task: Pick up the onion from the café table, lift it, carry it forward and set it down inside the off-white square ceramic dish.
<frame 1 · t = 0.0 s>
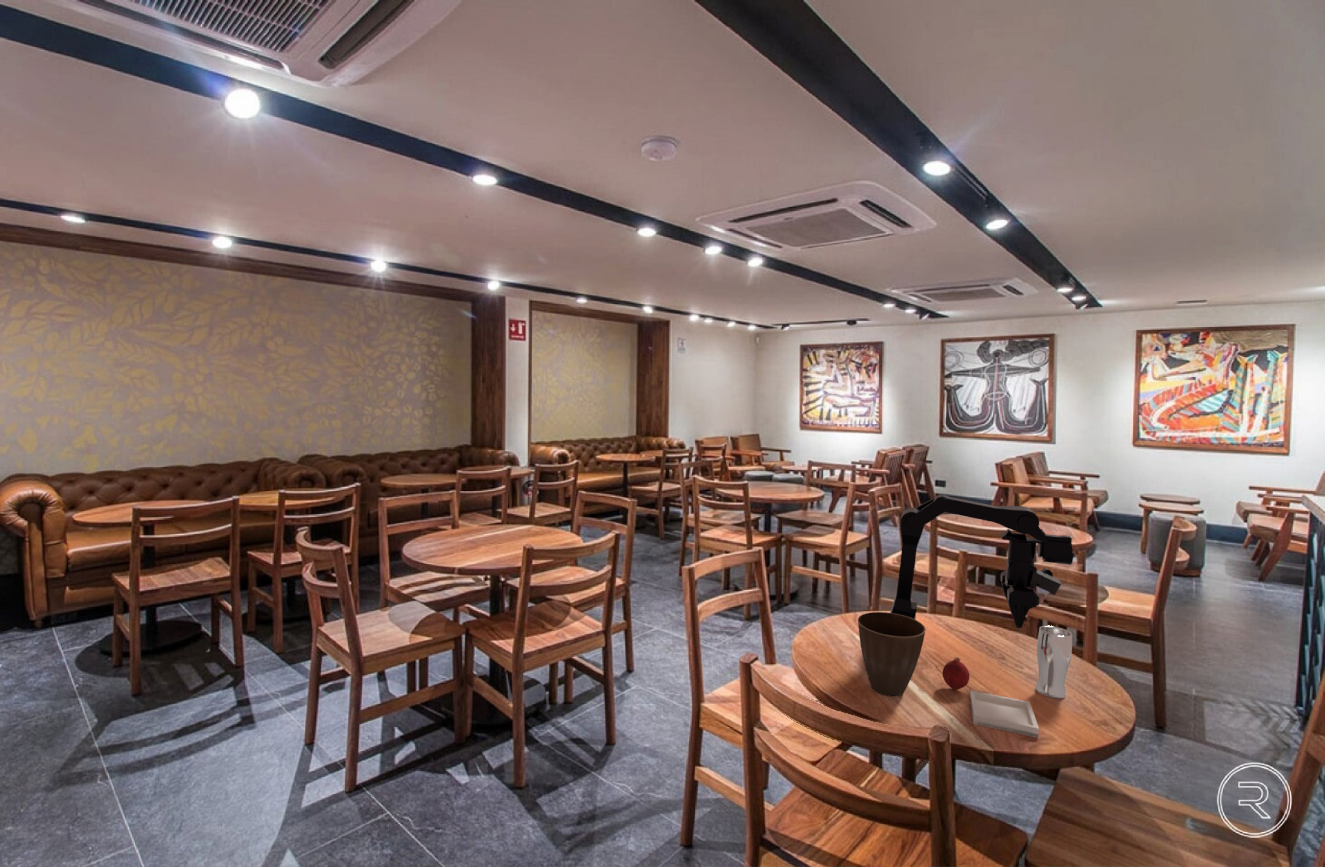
hand: (1016, 620, 154), 15 cm above the table, fingers open, 9 cm apart
dish: (1001, 716, 137), on the table
onion: (954, 690, 149), on the table
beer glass: (1050, 693, 149), on the table
plant pot: (887, 689, 148), on the table
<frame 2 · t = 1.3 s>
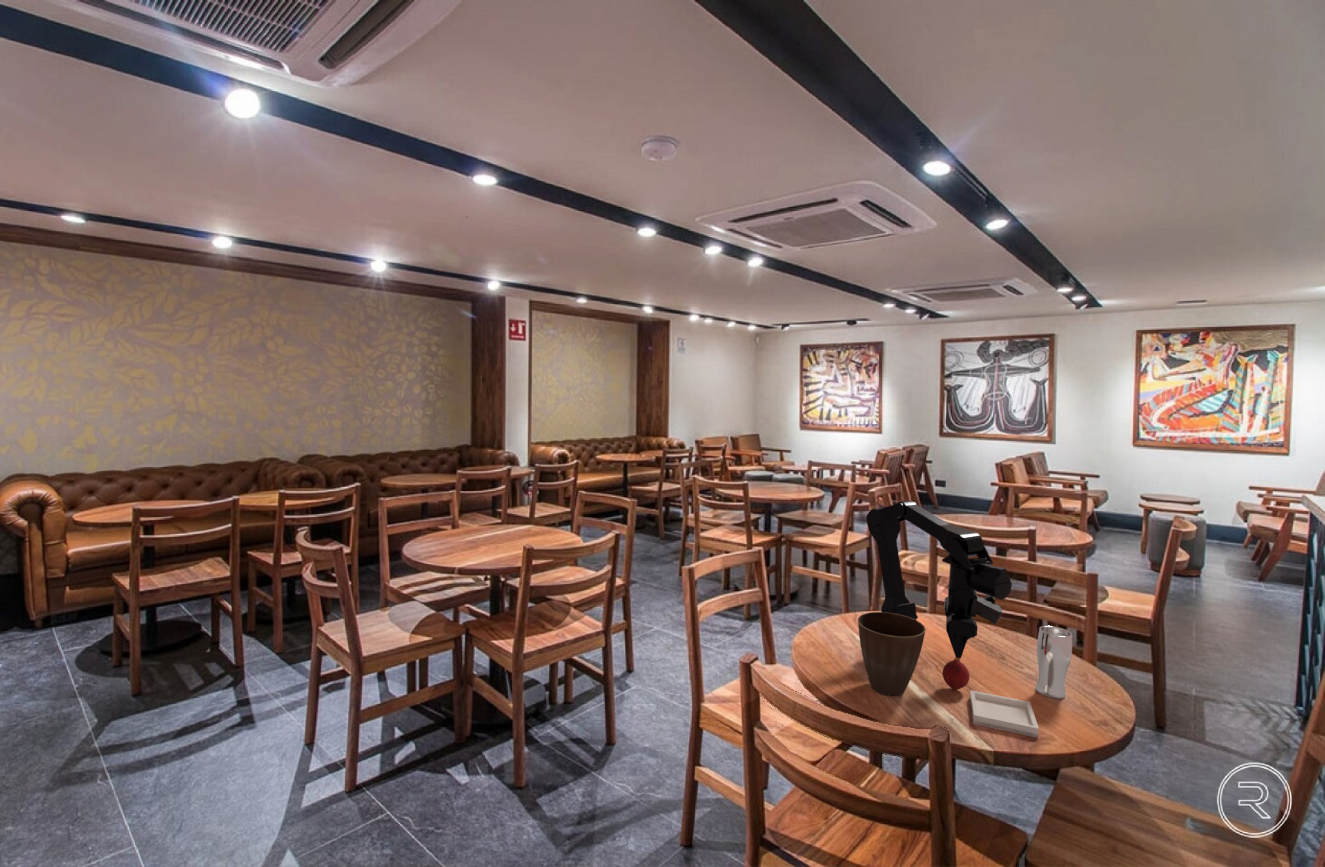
hand: (957, 649, 148), 10 cm above the table, fingers open, 9 cm apart
nothing on the table moved.
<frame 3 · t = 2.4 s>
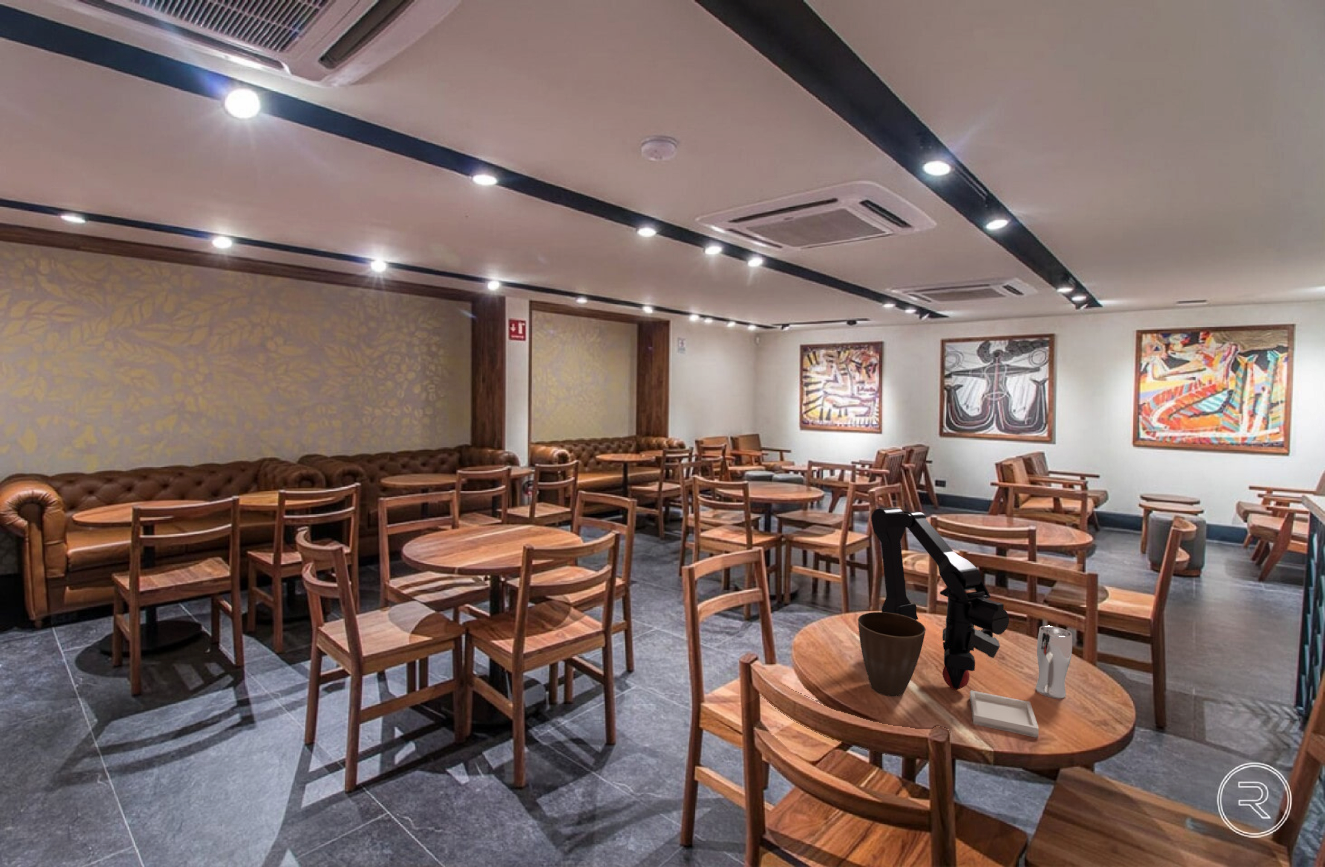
hand: (955, 682, 148), 2 cm above the table, fingers closed on onion, 6 cm apart
onion: (954, 690, 149), on the table, touching gripper
everything else where it was.
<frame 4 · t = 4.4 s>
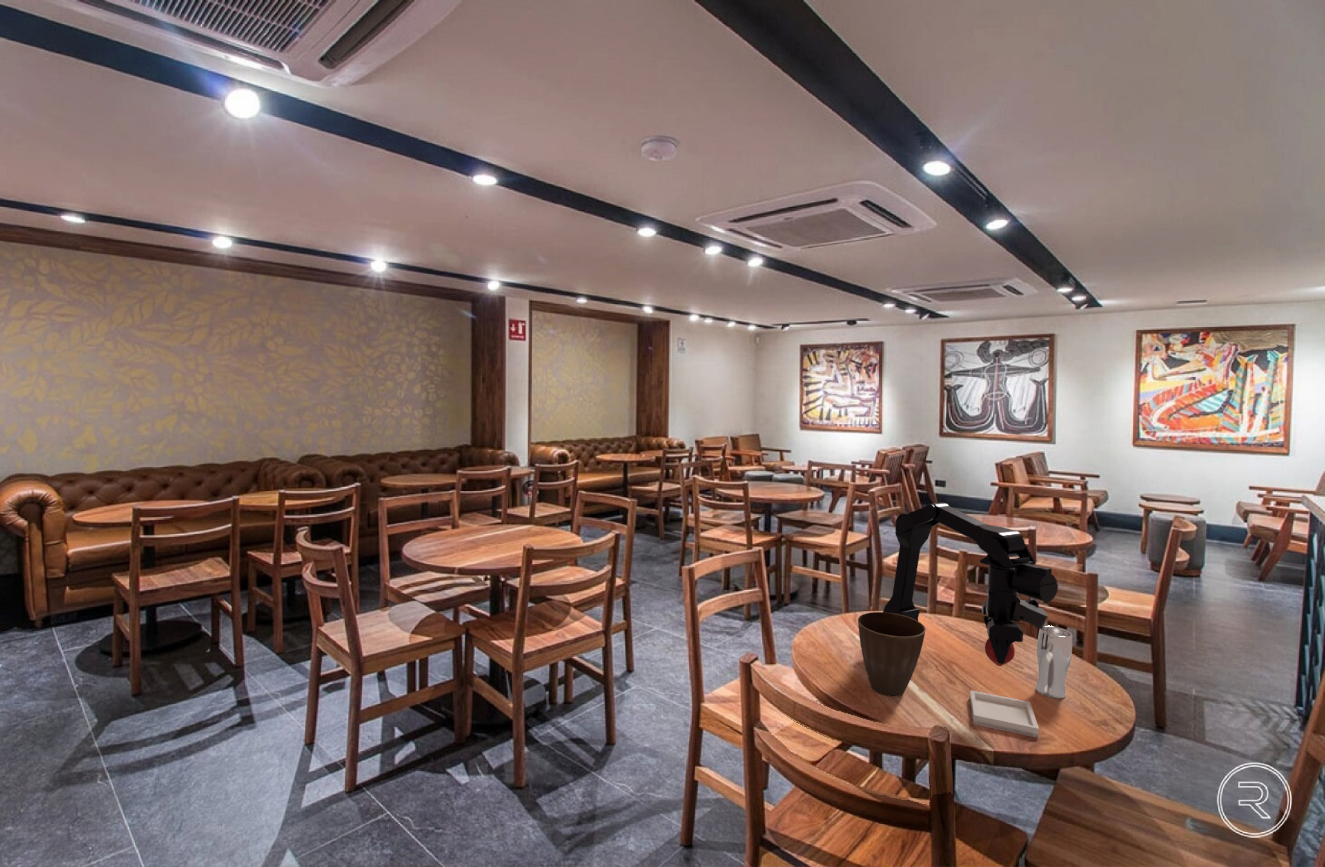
hand: (999, 657, 137), 13 cm above the table, fingers closed on onion, 6 cm apart
onion: (998, 666, 138), point 11 cm above the table, touching gripper
everything else where it was.
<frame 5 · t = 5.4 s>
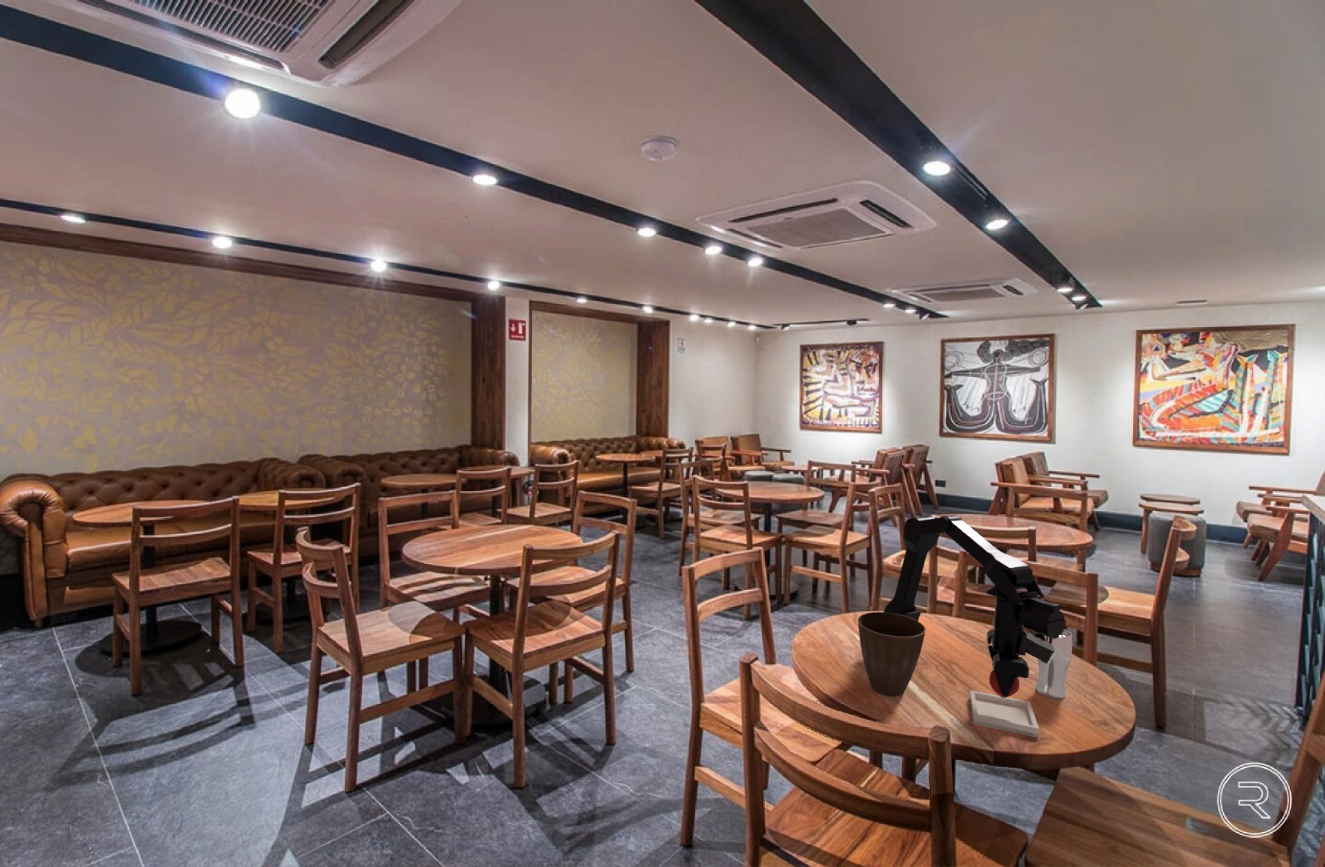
hand: (1003, 689, 137), 6 cm above the table, fingers closed on onion, 6 cm apart
onion: (1002, 698, 137), point 4 cm above the table, touching gripper
everything else where it was.
when the fingers open (4 cm above the table, at t = 6.2 s): onion drops 1 cm, resting on dish.
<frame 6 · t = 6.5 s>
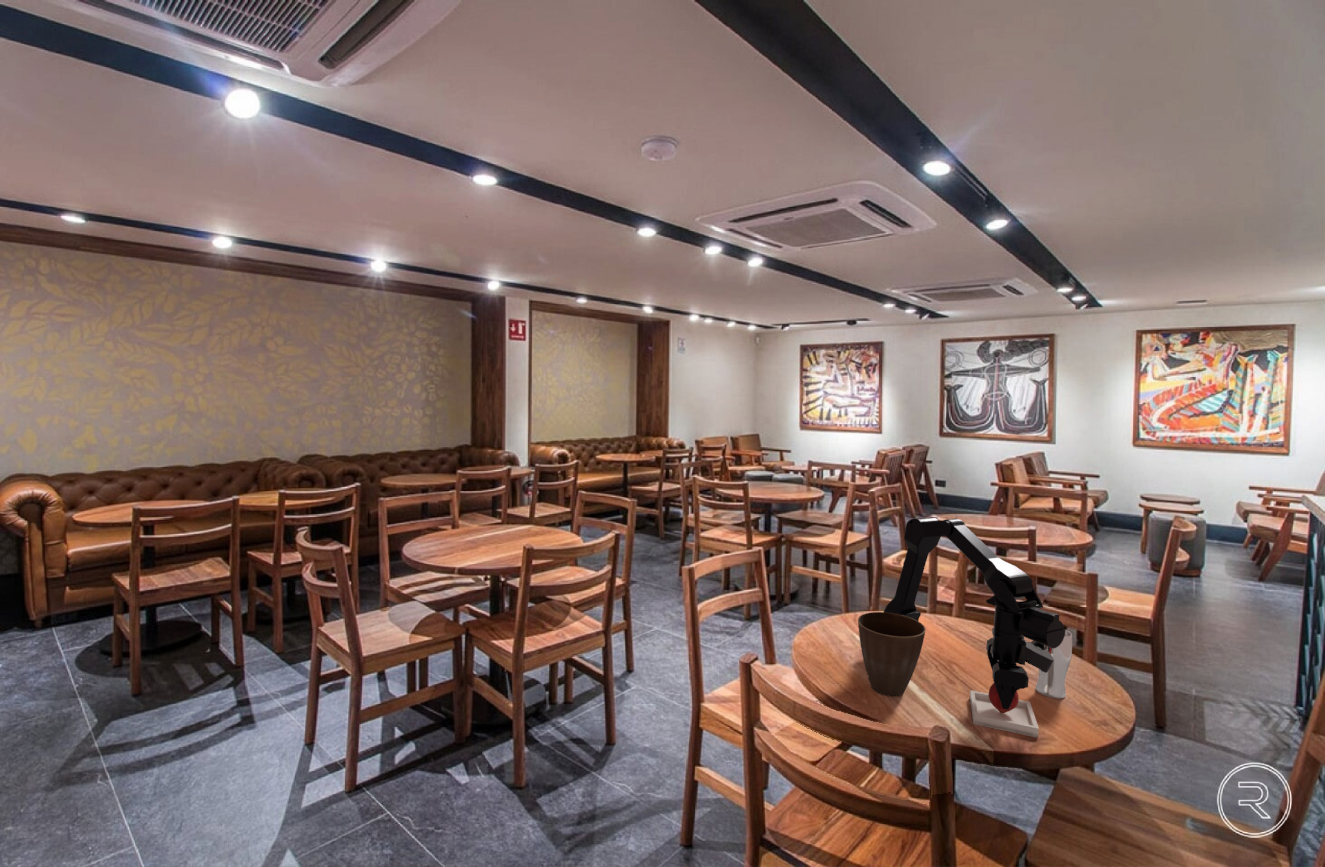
hand: (1003, 698, 137), 4 cm above the table, fingers open, 9 cm apart
onion: (1001, 713, 137), point 1 cm above the table, touching dish
everything else where it was.
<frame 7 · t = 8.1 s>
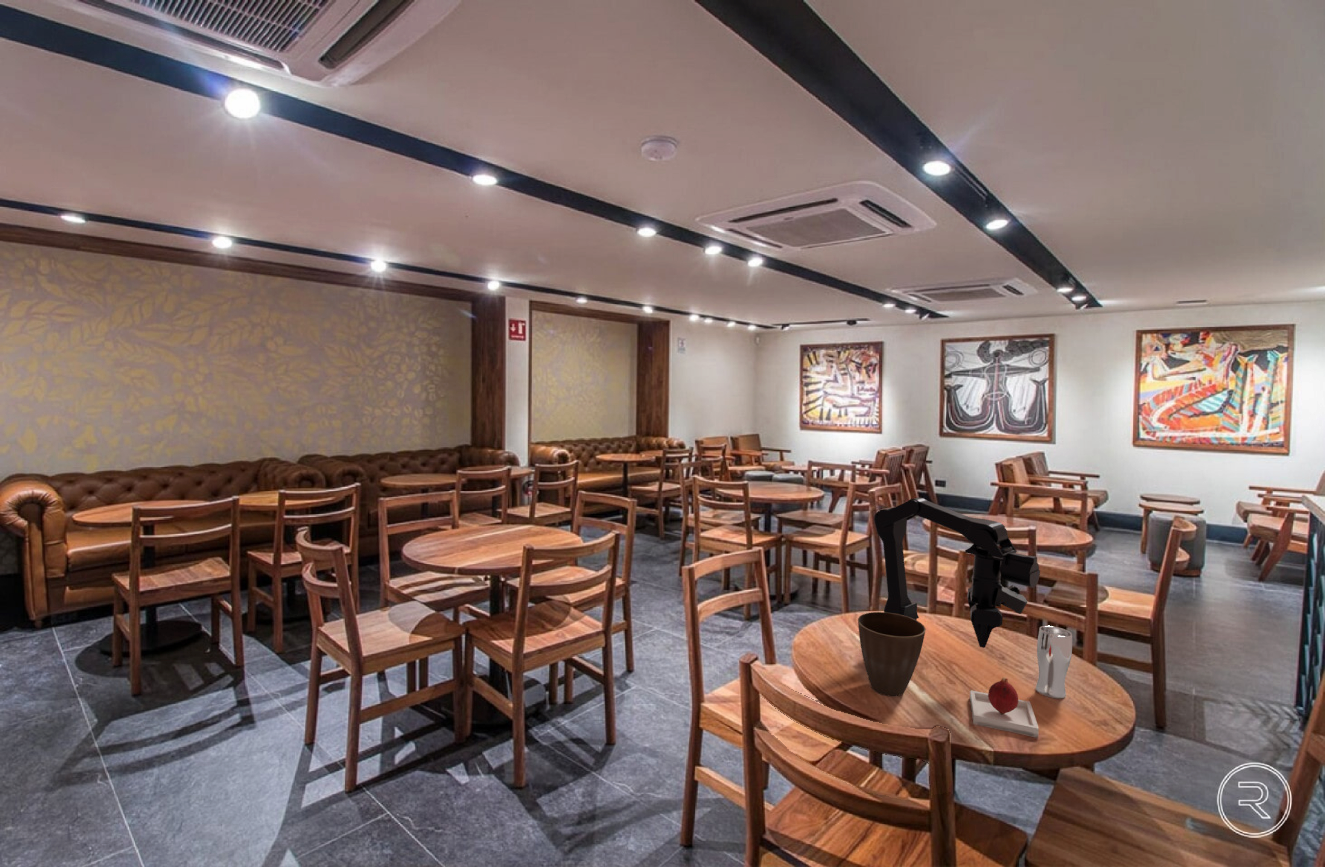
hand: (981, 639, 148), 12 cm above the table, fingers open, 9 cm apart
nothing on the table moved.
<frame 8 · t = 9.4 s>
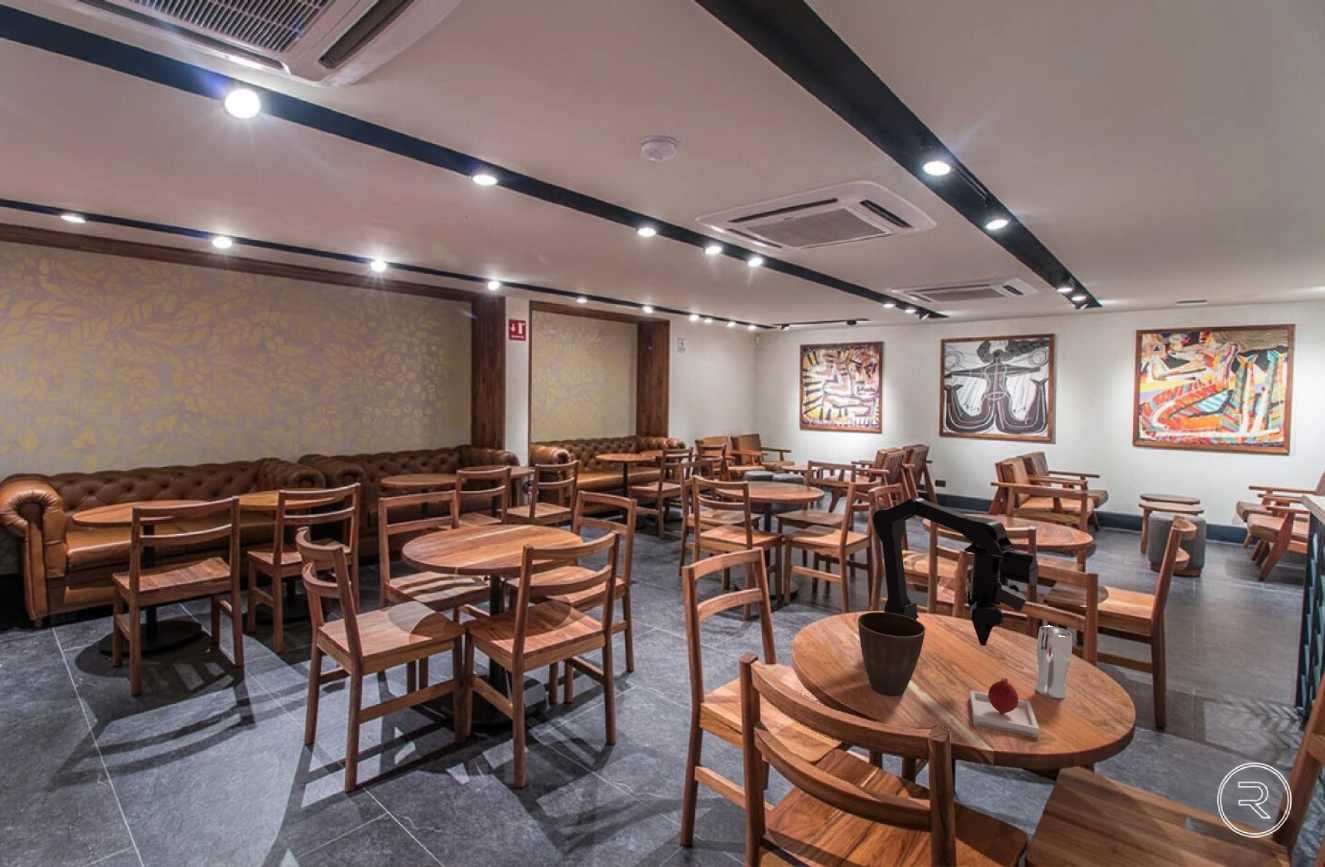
hand: (981, 638, 148), 13 cm above the table, fingers open, 9 cm apart
nothing on the table moved.
at the end: onion 0.0 cm from the dish (horizontally); onion touching dish; the gripper is holding nothing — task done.
